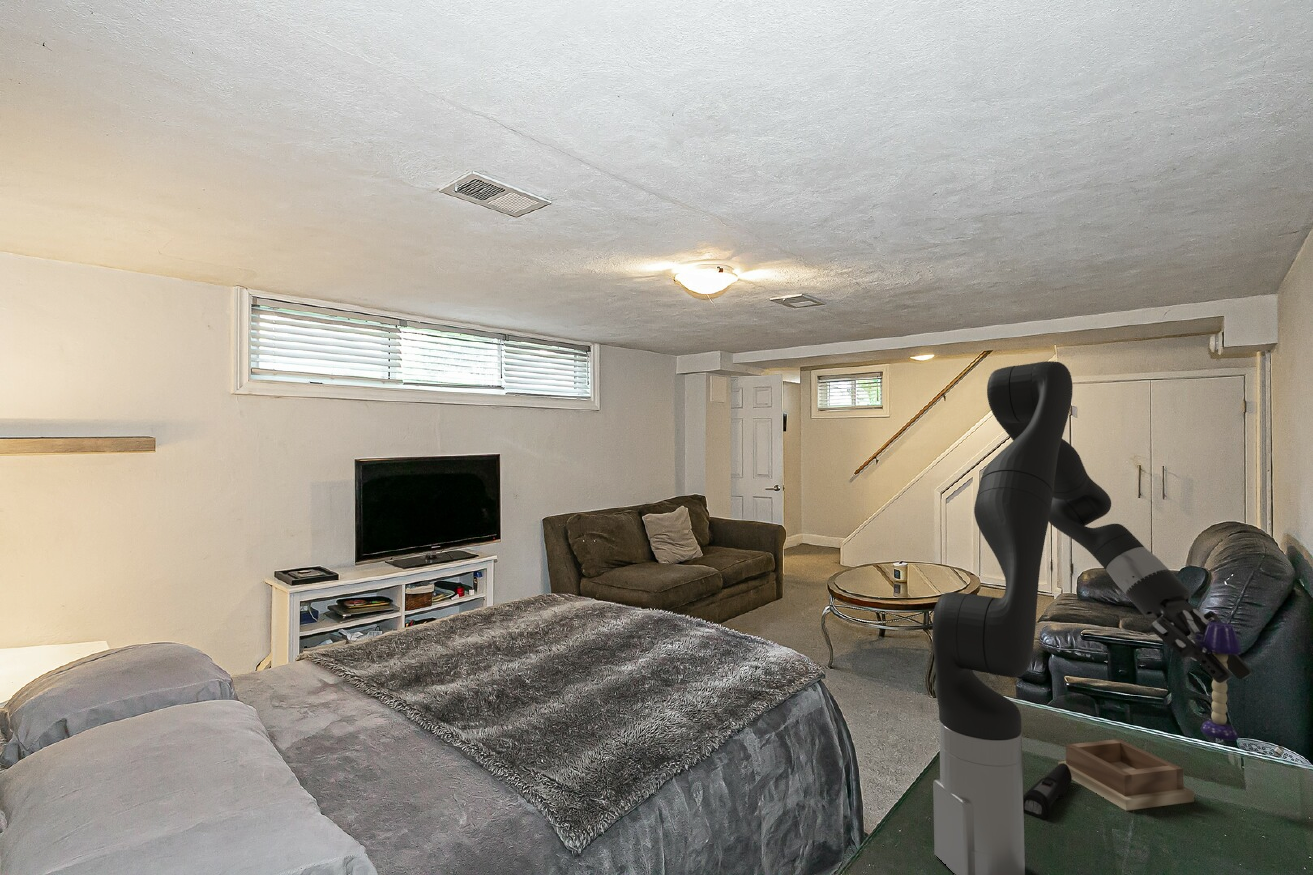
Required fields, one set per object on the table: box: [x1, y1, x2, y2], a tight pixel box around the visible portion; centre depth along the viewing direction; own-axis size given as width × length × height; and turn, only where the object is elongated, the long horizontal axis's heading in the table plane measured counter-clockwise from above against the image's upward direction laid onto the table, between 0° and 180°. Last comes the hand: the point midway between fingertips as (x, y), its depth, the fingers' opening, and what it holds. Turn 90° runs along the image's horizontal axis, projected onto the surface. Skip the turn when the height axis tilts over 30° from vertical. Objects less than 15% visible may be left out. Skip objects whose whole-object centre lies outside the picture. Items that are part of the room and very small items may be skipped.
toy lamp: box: [1200, 622, 1242, 742], centre depth 96 cm, size 5×5×17 cm
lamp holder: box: [1057, 738, 1195, 811], centre depth 99 cm, size 12×12×4 cm
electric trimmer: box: [1023, 763, 1072, 821], centre depth 96 cm, size 4×16×3 cm, turn 133°
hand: (1236, 677), depth 95 cm, fingers closed on toy lamp, 4 cm apart
